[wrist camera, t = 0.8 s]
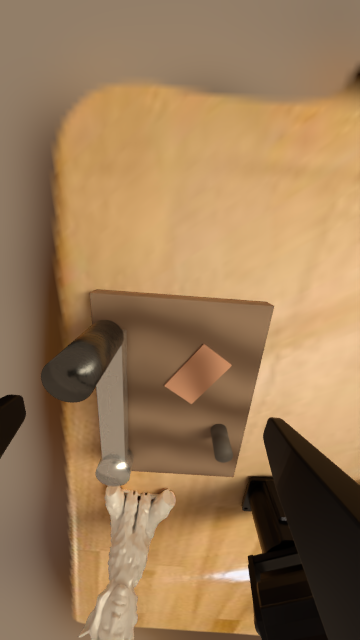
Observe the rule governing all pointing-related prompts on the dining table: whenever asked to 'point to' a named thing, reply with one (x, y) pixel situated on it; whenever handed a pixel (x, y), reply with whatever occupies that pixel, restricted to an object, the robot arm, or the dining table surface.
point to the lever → (98, 391)
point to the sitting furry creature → (126, 560)
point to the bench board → (187, 376)
